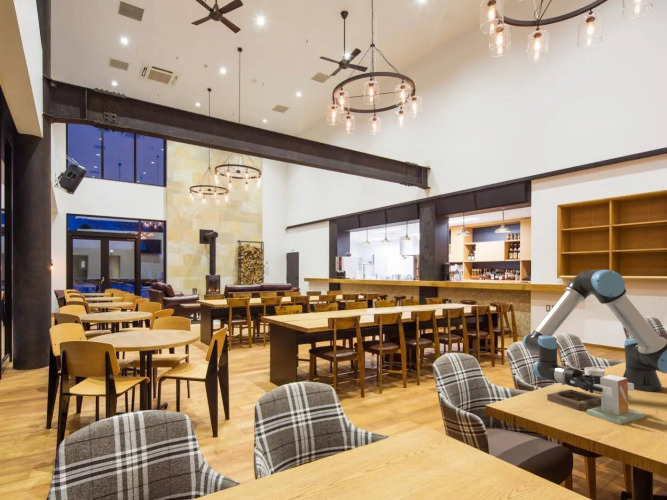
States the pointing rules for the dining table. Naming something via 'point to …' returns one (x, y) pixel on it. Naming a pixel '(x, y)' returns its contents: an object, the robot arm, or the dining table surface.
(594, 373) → the white cup
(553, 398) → the walnut holder
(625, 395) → the small box
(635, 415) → the board
